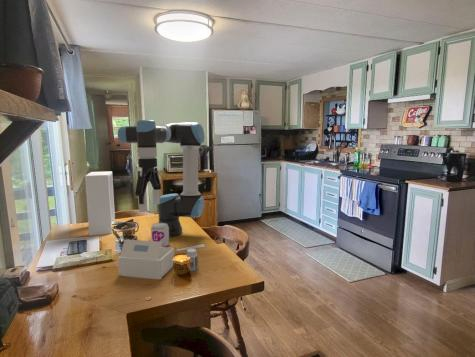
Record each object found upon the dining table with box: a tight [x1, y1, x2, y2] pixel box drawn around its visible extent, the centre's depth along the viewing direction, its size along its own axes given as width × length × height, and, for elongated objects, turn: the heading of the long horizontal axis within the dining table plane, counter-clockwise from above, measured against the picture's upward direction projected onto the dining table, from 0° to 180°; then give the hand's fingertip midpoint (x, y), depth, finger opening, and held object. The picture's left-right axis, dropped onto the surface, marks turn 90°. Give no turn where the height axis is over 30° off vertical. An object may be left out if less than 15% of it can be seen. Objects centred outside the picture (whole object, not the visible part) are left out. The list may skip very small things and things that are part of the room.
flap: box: [119, 238, 162, 259], centre depth 122 cm, size 7×16×1 cm
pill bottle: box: [185, 248, 199, 272], centre depth 129 cm, size 5×5×8 cm
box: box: [84, 170, 116, 236], centre depth 185 cm, size 22×12×35 cm, turn 17°
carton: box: [118, 246, 175, 281], centre depth 128 cm, size 14×19×8 cm
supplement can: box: [150, 222, 171, 248], centre depth 144 cm, size 8×8×15 cm
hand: (149, 207), depth 128 cm, fingers open, 13 cm apart
